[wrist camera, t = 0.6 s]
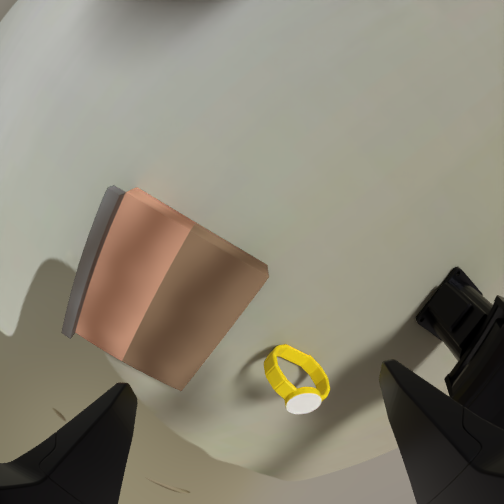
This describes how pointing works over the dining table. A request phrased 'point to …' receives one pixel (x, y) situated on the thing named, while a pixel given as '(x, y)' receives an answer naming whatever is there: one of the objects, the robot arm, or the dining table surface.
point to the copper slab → (158, 287)
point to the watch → (294, 397)
